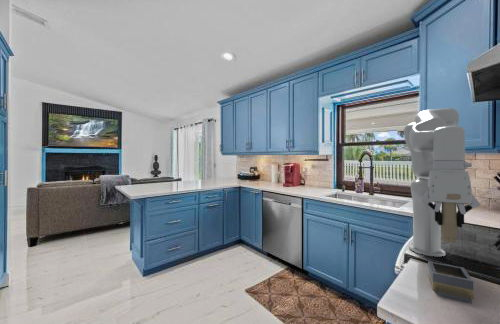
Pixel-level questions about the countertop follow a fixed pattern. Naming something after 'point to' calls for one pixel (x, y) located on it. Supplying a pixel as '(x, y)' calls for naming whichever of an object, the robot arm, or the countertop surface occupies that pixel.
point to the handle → (449, 219)
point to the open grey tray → (451, 281)
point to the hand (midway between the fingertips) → (448, 224)
